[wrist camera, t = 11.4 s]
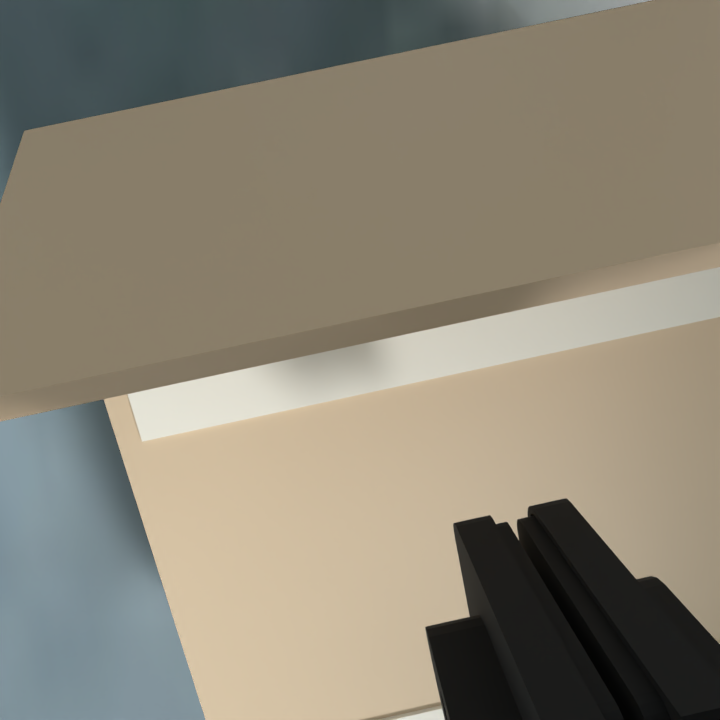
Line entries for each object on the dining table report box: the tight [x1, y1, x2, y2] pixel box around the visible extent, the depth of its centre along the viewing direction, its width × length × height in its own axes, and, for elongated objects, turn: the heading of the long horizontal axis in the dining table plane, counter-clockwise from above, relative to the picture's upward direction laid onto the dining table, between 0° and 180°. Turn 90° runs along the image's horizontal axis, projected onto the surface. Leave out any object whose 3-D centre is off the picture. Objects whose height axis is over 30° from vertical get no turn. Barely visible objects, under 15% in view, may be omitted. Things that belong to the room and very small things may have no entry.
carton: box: [104, 267, 720, 720], centre depth 18 cm, size 13×18×8 cm
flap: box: [0, 0, 720, 421], centre depth 9 cm, size 13×6×1 cm
